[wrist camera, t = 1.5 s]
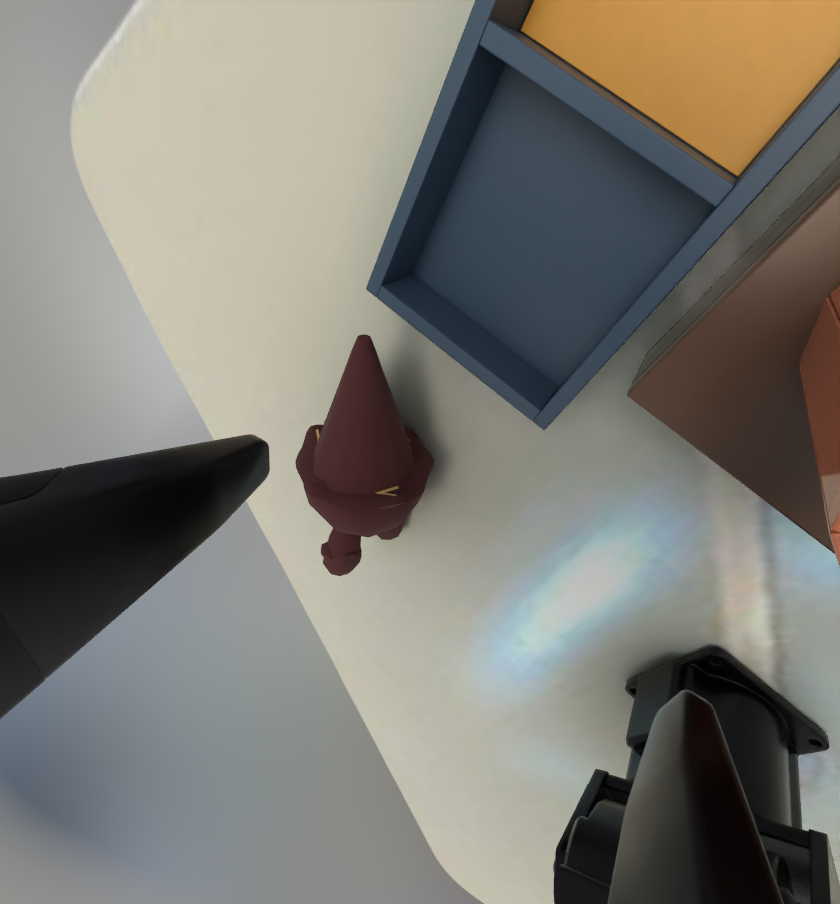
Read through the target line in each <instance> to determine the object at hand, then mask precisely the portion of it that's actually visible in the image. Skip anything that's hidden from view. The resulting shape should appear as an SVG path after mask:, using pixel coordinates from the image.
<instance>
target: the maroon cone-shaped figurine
mask: <svg viewBox="0 0 840 904" xmlns="http://www.w3.org/2000/svg"><path fill="white" fill-rule="evenodd" d="M432 467H433V458H432V457H431V455H430V453H429V452H428V451H427V450H426V448H425V447H424V446H423V445H422V443H421V442H420V440H419V439H418V437H417V435H416V434H415V432H414V431H413V430H411V429H408V428H404V425H403V422H402V420H401V417H400V415H399V412H398V409H397V407H396V404H395V401H394V399H393V396H392V394H391V391H390V388H389V386H388V383H387V381H386V378H385V375H384V372H383V370H382V367H381V364H380V361H379V358H378V355H377V352H376V350H375V347H374V345H373V342H372V340H371V337H370V336H368V335H359V336H358V337H357V339H356V342H355V344H354V346H353V349H352V351H351V354H350V357H349V359H348V362H347V365H346V367H345V370H344V373H343V375H342V378H341V381H340V383H339V386H338V389H337V391H336V394H335V397H334V399H333V402H332V405H331V407H330V410H329V412H328V415H327V418H326V420H325V423H324V425H314V426H310V428H309V429H308V431H307V433H306V436H305V440H304V443H303V446H302V448H301V450H300V452H299V453H298V456H297V459H296V468H297V471H298V473H299V475H300V477H301V479H302V481H303V483H304V489H305V492H306V495H307V498H308V501H309V504H310V505H311V506H312V507H313V508H314V509H315V510H316V511H317V512H318V513H319V514H320V515H321V516H322V517H323V518H324V519H325V520H326V521H327V522H328V523H329V524H330V525H331V526H332V527H333V529H332V532H331V534H330V536H329V540H328V542H326V543H324V544H322V546H321V554H322V556H323V557H324V559H323V564H324V565H325V567H326V568H327V569H328V571H329V572H330V573H331V574H333V575H338V576H341V575H345V574H348V573H349V572H351V571H352V570H353V569H354V568H355V567H356V566H357V565H358V563H359V562H360V559H361V547H360V542H361V536H364V537H371V536H374V535H378V536H379V537H380V538H381V539H384V540H391V539H393V538H395V537H398V536H399V534H400V533H401V531H402V528H403V525H404V520H405V519H406V517H407V516H408V515H409V513H410V512H411V511H412V509H413V508H414V506H415V505H416V504H417V502H418V501H419V500H420V498H421V496H422V493H423V492H424V488H425V484H426V481H427V479H428V476H429V474H430V472H431V470H432Z"/></svg>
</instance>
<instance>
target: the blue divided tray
mask: <svg viewBox="0 0 840 904" xmlns="http://www.w3.org/2000/svg"><path fill="white" fill-rule="evenodd" d="M839 106H840V0H475V3H474V6H473V8H472V11H471V13H470V16H469V19H468V21H467V24H466V27H465V29H464V32H463V35H462V37H461V40H460V42H459V45H458V48H457V50H456V53H455V56H454V58H453V61H452V63H451V66H450V69H449V71H448V74H447V77H446V79H445V82H444V85H443V87H442V90H441V92H440V95H439V98H438V100H437V103H436V106H435V108H434V111H433V114H432V116H431V119H430V121H429V124H428V127H427V129H426V132H425V135H424V137H423V140H422V143H421V145H420V148H419V150H418V153H417V156H416V158H415V161H414V164H413V166H412V169H411V172H410V174H409V177H408V179H407V182H406V185H405V187H404V190H403V193H402V195H401V198H400V200H399V203H398V206H397V208H396V211H395V214H394V216H393V219H392V222H391V224H390V227H389V229H388V232H387V235H386V237H385V240H384V243H383V245H382V248H381V251H380V253H379V256H378V258H377V261H376V264H375V266H374V269H373V272H372V274H371V277H370V280H369V282H368V285H367V287H366V289H367V290H368V291H369V292H370V293H372V294H373V295H374V296H375V297H377V298H378V299H379V300H380V301H382V302H383V303H384V304H385V305H387V306H388V307H389V308H390V309H392V310H393V311H394V312H395V313H397V314H398V315H399V316H401V317H402V318H403V319H404V320H406V321H407V322H408V323H409V324H411V325H412V326H413V327H414V328H416V329H417V330H418V331H419V332H421V333H422V334H423V335H424V336H426V337H427V338H428V339H430V340H431V341H432V342H433V343H435V344H436V345H437V346H438V347H440V348H441V349H442V350H443V351H445V352H446V353H447V354H448V355H450V356H451V357H452V358H453V359H455V360H456V361H457V362H459V363H460V364H461V365H462V366H464V367H465V368H466V369H467V370H469V371H470V372H471V373H472V374H474V375H475V376H476V377H477V378H479V379H480V380H481V381H482V382H484V383H485V384H486V385H487V386H489V387H490V388H491V389H493V390H494V391H495V392H496V393H498V394H499V395H500V396H501V397H503V398H504V399H505V400H506V401H508V402H509V403H510V404H511V405H513V406H514V407H515V408H516V409H518V410H519V411H520V412H522V413H523V414H524V415H525V416H527V417H528V418H529V419H530V420H533V422H534V423H535V424H537V425H538V426H539V427H541V428H542V429H543V430H545V429H546V428H547V427H548V426H549V425H550V424H551V423H552V422H553V420H554V419H555V418H556V417H557V416H558V415H559V414H560V413H561V412H562V411H563V409H564V408H565V407H566V406H567V405H568V404H569V403H570V402H571V401H572V400H573V398H574V397H575V396H576V395H577V394H578V393H579V392H580V391H581V390H582V389H583V387H584V386H585V385H586V384H587V383H588V382H589V381H590V380H591V379H592V378H593V376H594V375H595V374H596V373H597V372H598V371H599V370H600V369H601V368H602V367H603V365H604V364H605V363H606V362H607V361H608V360H609V359H610V358H611V357H612V356H613V354H614V353H615V352H616V351H617V350H618V349H619V348H620V347H621V346H622V345H623V343H624V342H625V341H626V340H627V339H628V338H629V337H630V336H631V335H632V334H633V332H634V331H635V330H636V329H637V328H638V327H639V326H640V325H641V324H642V323H643V321H644V320H645V319H646V318H647V317H648V316H649V315H650V314H651V313H652V312H653V310H654V309H655V308H656V307H657V306H658V305H659V304H660V303H661V302H662V301H663V299H664V298H665V297H666V296H667V295H668V294H669V293H670V292H671V291H672V290H673V288H674V287H675V286H676V285H677V284H678V283H679V282H680V281H681V280H682V279H683V277H684V276H685V275H686V274H687V273H688V272H689V271H690V270H691V269H692V268H693V266H694V265H695V264H696V263H697V262H698V261H699V260H700V259H701V258H702V257H703V255H704V254H705V253H706V252H707V251H708V250H709V249H710V248H711V247H712V246H713V244H714V243H715V242H716V241H717V240H718V239H719V238H720V237H721V236H722V235H723V233H724V232H725V231H726V230H727V229H728V228H729V227H730V226H731V225H732V224H733V222H734V221H735V220H736V219H737V218H738V217H739V216H740V215H741V214H742V213H743V211H744V210H745V209H746V208H747V207H748V206H749V205H750V204H751V203H752V202H753V200H754V199H755V198H756V197H757V196H758V195H759V194H760V193H761V192H762V191H763V189H764V188H765V187H766V186H767V185H768V184H769V183H770V182H771V181H772V180H773V178H774V177H775V176H776V175H777V174H778V173H779V172H780V171H781V170H782V169H783V167H784V166H785V165H786V164H787V163H788V162H789V161H790V160H791V159H792V158H793V156H794V155H795V154H796V153H797V152H798V151H799V150H800V149H801V148H802V147H803V145H804V144H805V143H806V142H807V141H808V140H809V139H810V138H811V137H812V136H813V134H814V133H815V132H816V131H817V130H818V129H819V128H820V127H821V126H822V125H823V123H824V122H825V121H826V120H827V119H828V118H829V117H830V116H831V115H832V114H833V112H834V111H835V110H836V109H837V108H838V107H839Z"/></svg>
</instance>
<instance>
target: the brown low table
mask: <svg viewBox="0 0 840 904" xmlns="http://www.w3.org/2000/svg"><path fill="white" fill-rule="evenodd" d="M839 285H840V156H839V157H838V158H837V159H836V160H835V161H834V162H833V163H832V164H831V165H830V166H829V167H828V168H827V169H826V170H825V171H824V172H823V173H822V174H821V176H820V177H819V178H818V179H817V180H816V181H815V182H814V183H813V184H812V185H811V186H810V187H809V188H808V189H807V190H806V191H805V192H804V193H803V194H802V195H801V196H800V197H799V198H798V199H797V200H796V201H795V202H794V203H793V204H792V205H791V206H790V207H789V208H788V209H787V210H786V211H785V213H784V214H783V215H782V216H781V217H780V218H779V219H778V220H777V221H776V222H775V223H774V224H773V225H772V226H771V227H770V228H769V229H768V230H767V231H766V232H765V233H764V234H763V235H762V236H761V237H760V238H759V239H758V240H757V241H756V242H755V243H754V244H753V245H752V246H751V247H750V248H749V250H748V251H747V252H746V253H745V254H744V255H743V256H742V257H741V258H740V259H739V260H738V261H737V262H736V263H735V264H734V265H733V266H732V267H731V268H730V269H729V270H728V271H727V272H726V273H725V274H724V275H723V276H722V277H721V278H720V279H719V280H718V281H717V282H716V283H715V284H714V285H713V287H712V288H711V289H710V290H709V291H708V292H707V293H706V294H705V295H704V296H703V297H702V298H701V299H700V300H699V301H698V302H697V303H696V304H695V305H694V306H693V307H692V308H691V309H690V310H689V311H688V312H687V313H686V314H685V315H684V316H683V317H682V318H681V319H680V320H679V321H678V322H677V324H676V325H675V326H674V327H673V328H672V329H671V330H670V331H669V332H668V333H667V334H666V335H665V336H664V337H663V338H662V339H661V340H660V341H659V342H658V343H657V344H656V345H655V346H654V347H653V348H652V349H651V350H650V351H649V352H648V353H647V355H646V357H645V359H644V361H643V363H642V365H641V367H640V369H639V371H638V373H637V375H636V377H635V379H634V381H633V383H632V385H631V387H630V389H629V391H628V394H627V395H628V396H629V397H630V398H631V399H632V400H634V401H635V402H636V403H638V404H639V405H640V406H642V407H643V408H644V409H646V410H647V411H648V412H649V413H651V414H652V415H653V416H655V417H656V418H657V419H659V420H660V421H661V422H663V423H664V424H665V425H667V426H668V427H669V428H670V429H672V430H673V431H674V432H676V433H677V434H678V435H680V436H681V437H682V438H684V439H685V440H686V441H688V442H689V443H690V444H691V445H693V446H694V447H695V448H697V449H698V450H699V451H701V452H702V453H703V454H705V455H706V456H707V457H708V458H710V459H711V460H712V461H714V462H715V463H716V464H718V465H719V466H720V467H722V468H723V469H724V470H726V471H727V472H728V473H729V474H731V475H732V476H733V477H735V478H736V479H737V480H739V481H740V482H741V483H743V484H744V485H745V486H746V487H748V488H749V489H750V490H752V491H753V492H754V493H756V494H757V495H758V496H760V497H761V498H762V499H764V500H765V501H766V502H767V503H769V504H770V505H771V506H773V507H774V508H775V509H777V510H778V511H779V512H781V513H782V514H783V515H785V516H786V517H787V518H788V519H790V520H791V521H792V522H794V523H795V524H796V525H798V526H799V527H800V528H802V529H803V530H804V531H805V532H807V533H808V534H809V535H811V536H812V537H813V538H815V539H816V540H817V541H819V542H820V543H821V544H823V545H824V546H825V547H826V548H828V549H829V550H830V551H832V552H833V553H834V554H835V551H834V548H833V545H832V541H831V538H830V535H829V529H828V524H827V518H826V512H825V507H824V501H823V496H822V490H821V485H820V479H819V474H818V468H817V463H816V457H815V452H814V446H813V440H812V435H811V429H810V424H809V418H808V413H807V407H806V402H805V396H804V391H803V385H802V380H801V374H800V368H799V366H800V359H801V356H802V354H803V352H804V349H805V347H806V344H807V342H808V340H809V337H810V335H811V332H812V330H813V328H814V325H815V323H816V320H817V318H818V316H819V313H820V311H821V308H822V306H823V304H824V301H825V299H826V298H830V295H829V294H830V293H831V292H832V291H833V290H834V289H836V288H837V287H838V286H839Z"/></svg>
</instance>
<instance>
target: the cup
mask: <svg viewBox="0 0 840 904" xmlns="http://www.w3.org/2000/svg"><path fill="white" fill-rule="evenodd" d="M829 295H830V298H826V299H825V301H824V304H823V306H822V308H821V311H820V313H819V316H818V318H817V320H816V323H815V325H814V328H813V330H812V332H811V335H810V337H809V340H808V342H807V344H806V347H805V349H804V352H803V354H802V356H801V359H800V366H799V368H800V374H801V380H802V385H803V391H804V396H805V402H806V407H807V413H808V418H809V424H810V429H811V435H812V440H813V446H814V452H815V457H816V463H817V468H818V474H819V479H820V485H821V490H822V496H823V501H824V507H825V512H826V518H827V524H828V529H829V535H830V538H831V541H832V545H833V548H834V551H835V554H836V557H837V561H838V564H839V567H840V285H839V286H838V287H837V288H836V289H834V290H833V291H832V292H831V293H830V294H829Z"/></svg>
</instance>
